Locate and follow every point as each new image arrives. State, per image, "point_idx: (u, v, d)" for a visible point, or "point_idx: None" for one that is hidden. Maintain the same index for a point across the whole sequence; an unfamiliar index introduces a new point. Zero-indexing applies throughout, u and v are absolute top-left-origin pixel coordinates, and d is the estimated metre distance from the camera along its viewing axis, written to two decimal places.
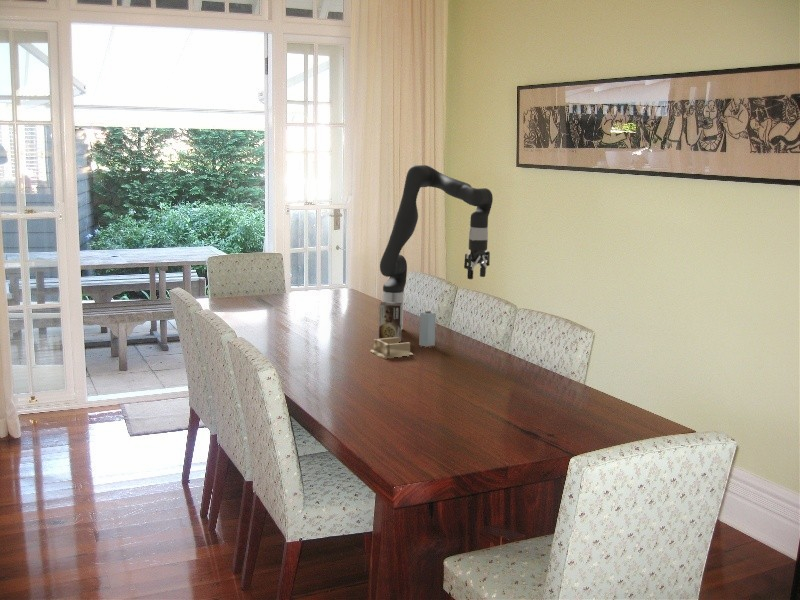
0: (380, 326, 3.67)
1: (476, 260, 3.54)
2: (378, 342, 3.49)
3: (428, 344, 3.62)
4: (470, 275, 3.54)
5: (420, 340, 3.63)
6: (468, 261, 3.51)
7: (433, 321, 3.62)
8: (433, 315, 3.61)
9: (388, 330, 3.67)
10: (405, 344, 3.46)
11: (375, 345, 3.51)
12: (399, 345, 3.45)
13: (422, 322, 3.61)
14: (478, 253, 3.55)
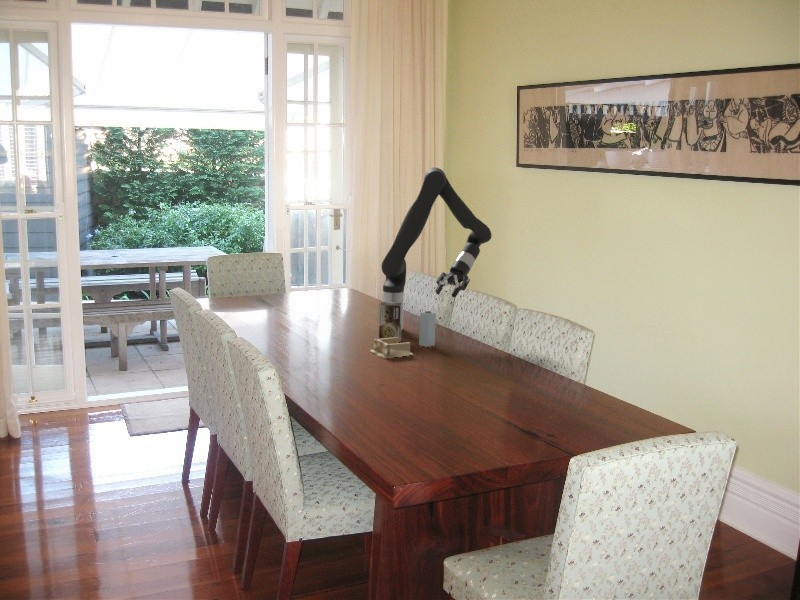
0: (380, 326, 3.67)
1: (460, 284, 3.71)
2: (378, 342, 3.49)
3: (428, 344, 3.62)
4: (456, 294, 3.66)
5: (420, 340, 3.63)
6: (467, 284, 3.67)
7: (433, 321, 3.62)
8: (433, 315, 3.61)
9: (388, 330, 3.67)
10: (405, 344, 3.46)
11: (375, 345, 3.51)
12: (399, 345, 3.45)
13: (422, 322, 3.61)
14: None
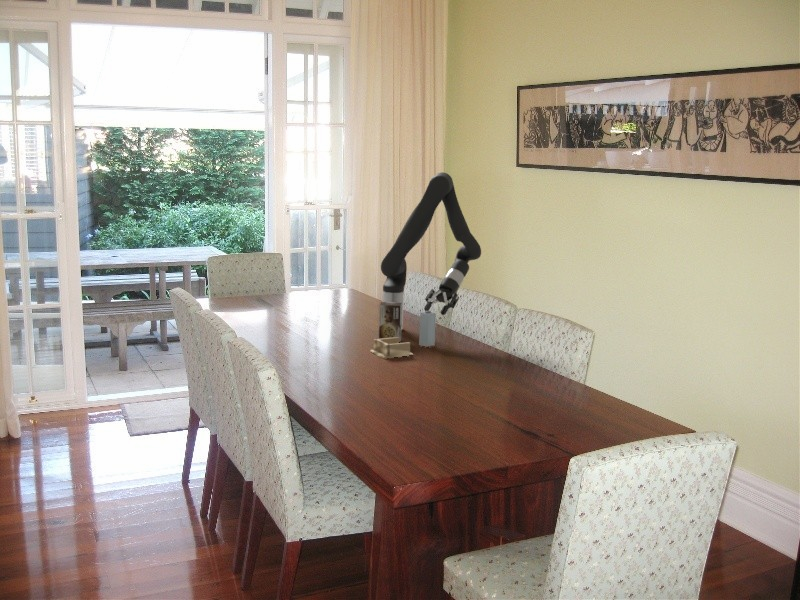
0: (380, 326, 3.67)
1: (449, 301, 3.67)
2: (378, 342, 3.49)
3: (428, 344, 3.62)
4: (445, 312, 3.62)
5: (420, 340, 3.63)
6: (456, 301, 3.63)
7: (433, 321, 3.62)
8: (433, 315, 3.61)
9: (388, 330, 3.67)
10: (405, 344, 3.46)
11: (375, 345, 3.51)
12: (399, 345, 3.45)
13: (423, 322, 3.61)
14: None
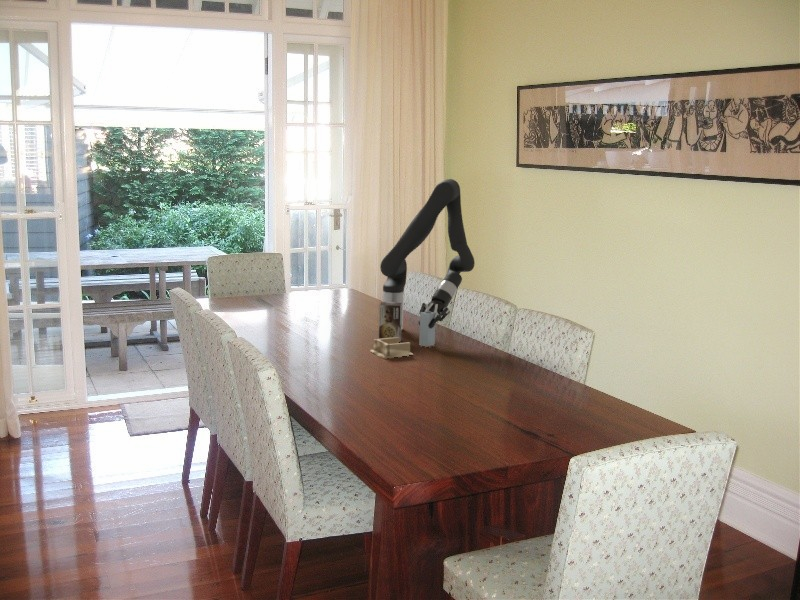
0: (380, 326, 3.67)
1: (440, 314, 3.64)
2: (378, 342, 3.49)
3: (428, 344, 3.62)
4: (433, 325, 3.60)
5: (420, 340, 3.63)
6: (445, 315, 3.61)
7: None
8: (433, 315, 3.61)
9: (388, 330, 3.67)
10: (405, 344, 3.46)
11: (375, 345, 3.51)
12: (399, 345, 3.45)
13: (423, 322, 3.61)
14: None
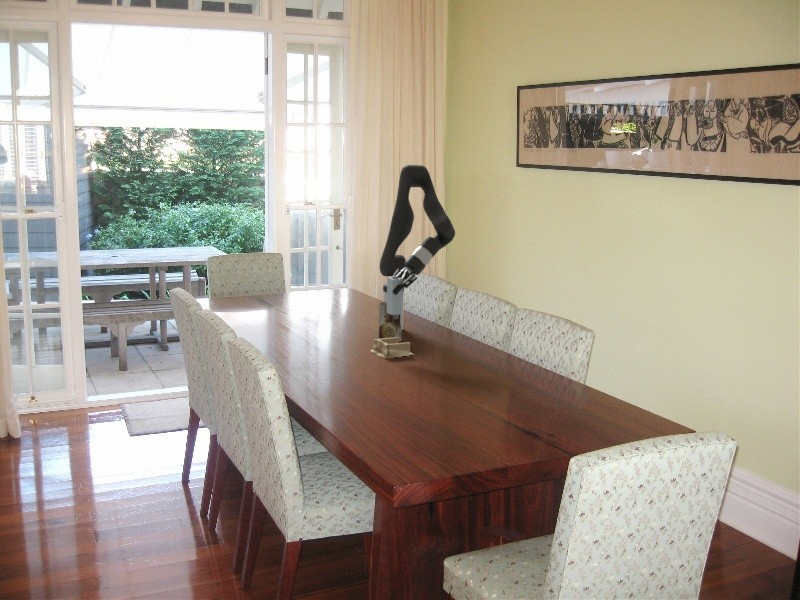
0: (380, 326, 3.67)
1: None
2: (378, 342, 3.49)
3: (393, 311, 3.44)
4: (398, 291, 3.43)
5: (387, 307, 3.47)
6: (411, 282, 3.41)
7: None
8: (399, 281, 3.43)
9: (388, 330, 3.67)
10: (405, 344, 3.46)
11: (375, 345, 3.51)
12: (399, 345, 3.45)
13: (389, 288, 3.45)
14: None
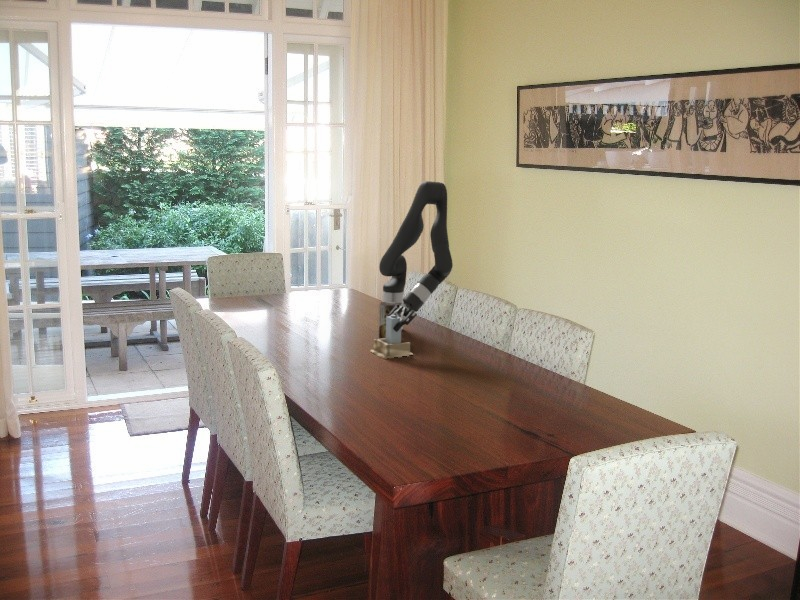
0: (380, 326, 3.67)
1: (408, 317, 3.48)
2: (378, 342, 3.49)
3: None
4: (399, 328, 3.44)
5: None
6: (411, 318, 3.44)
7: None
8: (398, 320, 3.46)
9: None
10: (405, 344, 3.46)
11: (375, 345, 3.51)
12: (399, 345, 3.45)
13: (387, 327, 3.48)
14: None
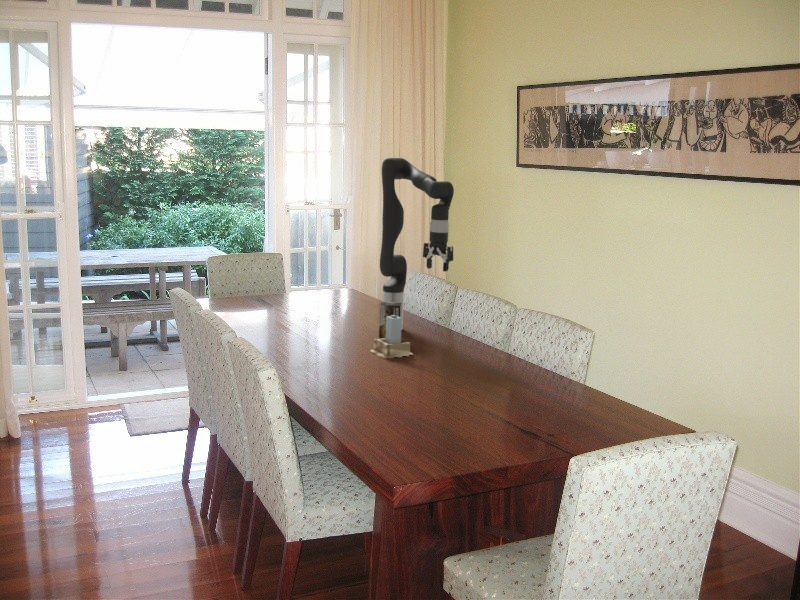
0: (380, 326, 3.67)
1: None
2: (378, 342, 3.49)
3: None
4: (448, 267, 3.60)
5: None
6: (452, 253, 3.58)
7: (398, 326, 3.47)
8: (398, 320, 3.46)
9: None
10: (405, 344, 3.46)
11: (375, 345, 3.51)
12: (399, 345, 3.45)
13: (387, 327, 3.48)
14: None
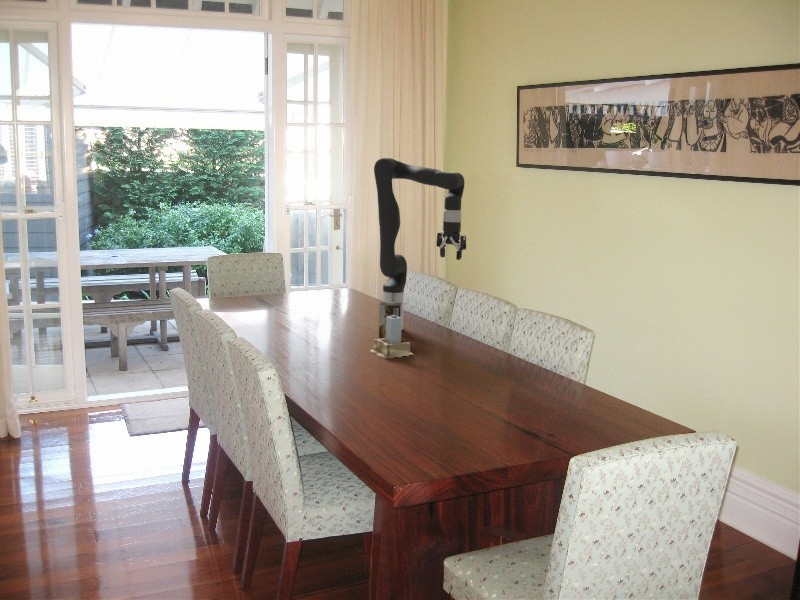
0: (380, 326, 3.67)
1: (459, 241, 3.74)
2: (378, 342, 3.49)
3: None
4: (461, 255, 3.73)
5: None
6: (465, 242, 3.71)
7: (398, 326, 3.47)
8: (398, 320, 3.46)
9: None
10: (405, 344, 3.46)
11: (375, 345, 3.51)
12: (399, 345, 3.45)
13: (387, 327, 3.48)
14: None
